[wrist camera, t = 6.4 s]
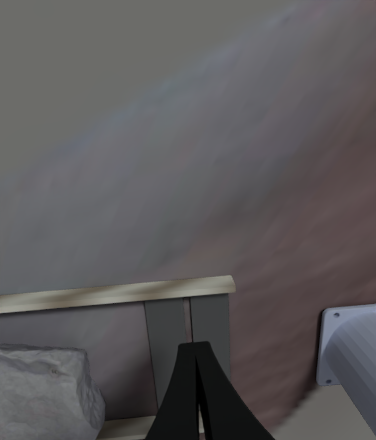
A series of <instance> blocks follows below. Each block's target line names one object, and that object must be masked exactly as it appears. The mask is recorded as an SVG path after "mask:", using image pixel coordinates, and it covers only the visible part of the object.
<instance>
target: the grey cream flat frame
mask: <svg viewBox="0 0 376 440" xmlns="http://www.w3.org/2000/svg"><path fill="white" fill-rule="evenodd" d="M231 292H236V289H235V284H234V281H233V279H232V276H231V275H228V276H217V277H205V278H194V279H182V280H171V281H159V282H148V283H136V284H125V285H114V286H102V287H91V288H79V289H68V290H56V291H45V292H33V293H22V294H10V295H0V313H7V312H18V311H29V310H41V309H52V308H63V307H74V306H85V305H96V304H108V303H119V302H130V301H141V300H152V299H164V298H175V297H186V296H197V295H208V294H219V293H231ZM155 417H156V416H148V417H138V418H129V419H119V420H109V421H104V424H103V426H102V428H101V430H100V432H99V434H98V436H97V437H96V439H95V440H137V439H145V437H146V435H147V433H148V431H149V430H150V428H151V426H152V424H153V421H154V419H155ZM203 432H204V428H203V423H202V417H201V412H200V411H199V433H203Z"/></svg>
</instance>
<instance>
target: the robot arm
mask: <svg viewBox="0 0 376 440" xmlns="http://www.w3.org/2000/svg"><path fill="white" fill-rule="evenodd" d="M335 313H337V314H335ZM334 314H335V315H334ZM316 381H317V383H318V385H320V386H329V385H338V384H341V385H342V386H343V388H344V389H345V391H346V392H347V394H348V395H349V397H350V398H351V400H352V401H353V403H354V404H355V406H356V407H357V409H358V410H359V412H360V413H361V415H362V416H363V418H364V419H365V421H366V422H367V424H368V425H369V427H370V428H371V430H372V431H373V433H374V434H375V436H376V304H370V305H359V306H348V307H337V308H328V309H326V310H324V311H323V314H322V323H321V333H320V344H319V354H318V364H317V374H316ZM199 406H200V412H201V417H202V423H203V428H204V433H205V439H206V440H275V439H274V438H273V437H272V436H271V434H270V433H269V432H268V431H267V430H266V429H265V428H264V427H263V426H262V424H261V423H260V422H259V421H258V420H257V419H256V417H255V416H254V415H253V414H252V412H251V411H250V410H249V409H248V407H247V406H246V405H245V403H244V402H243V401H242V399H241V398H240V396H239V395H238V393H237V392H236V390H235V389H234V388H233V386H232V384H231V383H230V381H229V380H228V378H227V376H226V375H225V373H224V371H223V370H222V368H221V366H220V364H219V362H218V360H217V358H216V356H215V354H214V352H213V350H212V347H211V344H210V342H208V341H201V342H191V343H180V344H179V345H178V351H177V357H176V362H175V366H174V369H173V373H172V376H171V379H170V382H169V385H168V388H167V391H166V393H165V396H164V398H163V401H162V404H161V406H160V408H159V411H158V413H157V415H156V417H155V419H154V421H153V424H152V426H151V428H150V430H149V431H148V433H147V435H146V437H145V439H144V440H199Z"/></svg>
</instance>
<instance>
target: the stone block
mask: <svg viewBox="0 0 376 440" xmlns="http://www.w3.org/2000/svg"><path fill="white" fill-rule="evenodd" d="M105 406H106V404H105V401H104V399H103V396H102V395H101V393H100V390H99V389H98V387H97V385H96V383H95V382H94V381H93V380H92V378H91V376H90V370H89V361H88V358H87V354H86V352H85V350H82V349H76V348H57V347H37V346H28V345H25V344H0V440H95V439H96V437H97V436H98V434H99V432H100V430H101V428H102V426H103V424H104V420H105Z"/></svg>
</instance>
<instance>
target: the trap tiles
mask: <svg viewBox="0 0 376 440" xmlns="http://www.w3.org/2000/svg"><path fill="white" fill-rule="evenodd" d="M190 301H191V315H192V329H193V342H201V341H208V342H210V344H211V347H212V350H213V352H214V354H215V356H216V358H217V360H218V362H219V364H220V366H221V368H222V370H223V371H224V373H225V375H226V376H227V378H228V380H229V381H230V342H229V301H228V293H219V294H208V295H197V296H190ZM144 304H145V311H146V319H147V326H148V334H149V341H150V349H151V357H152V364H153V372H154V379H155V387H156V395H157V402H158V410H159V408H160V406H161V404H162V401H163V398H164V396H165V393H166V391H167V388H168V385H169V382H170V379H171V376H172V373H173V369H174V366H175V362H176V357H177V351H178V345H179V344H180V343H186V332H185V320H184V308H183V297H175V298H164V299H152V300H144ZM199 410H200V406H199Z"/></svg>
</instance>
